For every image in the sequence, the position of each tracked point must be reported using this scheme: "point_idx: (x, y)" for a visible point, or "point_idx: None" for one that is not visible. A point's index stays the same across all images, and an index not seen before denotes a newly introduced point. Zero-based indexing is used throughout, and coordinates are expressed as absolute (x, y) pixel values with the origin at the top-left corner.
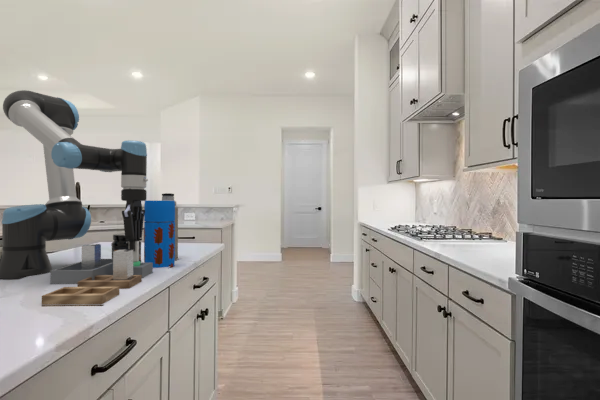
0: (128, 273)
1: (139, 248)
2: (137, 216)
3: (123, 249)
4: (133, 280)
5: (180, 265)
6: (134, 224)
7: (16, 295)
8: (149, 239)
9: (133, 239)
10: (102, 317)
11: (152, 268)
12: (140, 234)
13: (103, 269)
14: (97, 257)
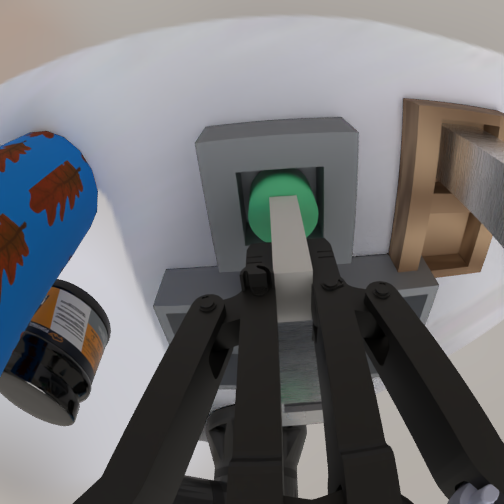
0: (498, 141)
1: None
2: (382, 488)
3: (81, 355)
4: (487, 112)
5: (3, 122)
6: (373, 407)
7: (462, 338)
8: (30, 294)
9: (385, 283)
10: None
11: (203, 133)
12: (218, 319)
13: (359, 285)
14: (305, 356)
